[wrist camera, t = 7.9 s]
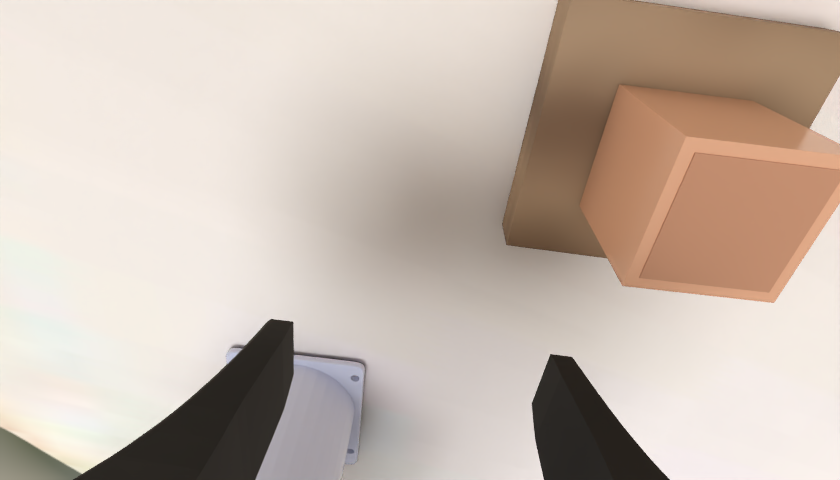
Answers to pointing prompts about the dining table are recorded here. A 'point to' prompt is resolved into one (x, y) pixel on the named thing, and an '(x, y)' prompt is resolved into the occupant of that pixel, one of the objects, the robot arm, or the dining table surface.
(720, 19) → the walnut board
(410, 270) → the dining table surface
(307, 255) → the dining table surface
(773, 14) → the dining table surface
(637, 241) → the terracotta block
